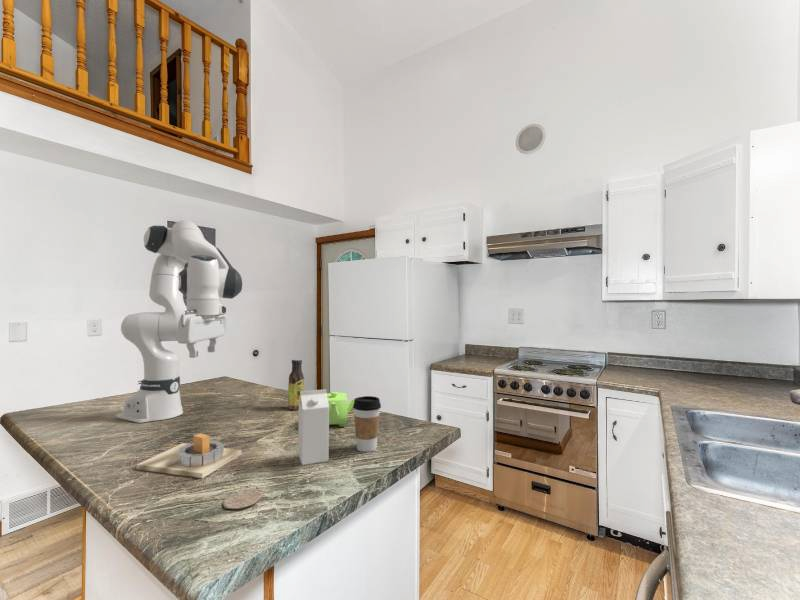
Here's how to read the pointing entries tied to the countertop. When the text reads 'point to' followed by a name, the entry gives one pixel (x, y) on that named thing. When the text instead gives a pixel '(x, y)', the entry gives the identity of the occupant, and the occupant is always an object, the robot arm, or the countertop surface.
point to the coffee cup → (366, 422)
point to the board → (169, 465)
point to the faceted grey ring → (200, 455)
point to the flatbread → (242, 499)
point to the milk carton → (313, 427)
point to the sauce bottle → (295, 384)
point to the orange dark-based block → (201, 444)
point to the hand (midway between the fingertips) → (203, 354)
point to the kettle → (338, 408)
